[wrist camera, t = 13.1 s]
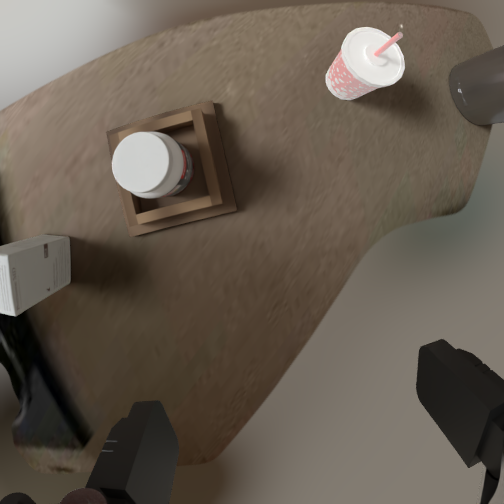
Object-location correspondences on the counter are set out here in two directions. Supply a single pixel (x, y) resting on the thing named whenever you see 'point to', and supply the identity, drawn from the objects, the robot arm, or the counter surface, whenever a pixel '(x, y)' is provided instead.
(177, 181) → the pill bottle
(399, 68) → the beverage cup
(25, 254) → the skincare box
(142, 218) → the wooden tray
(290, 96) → the counter surface
